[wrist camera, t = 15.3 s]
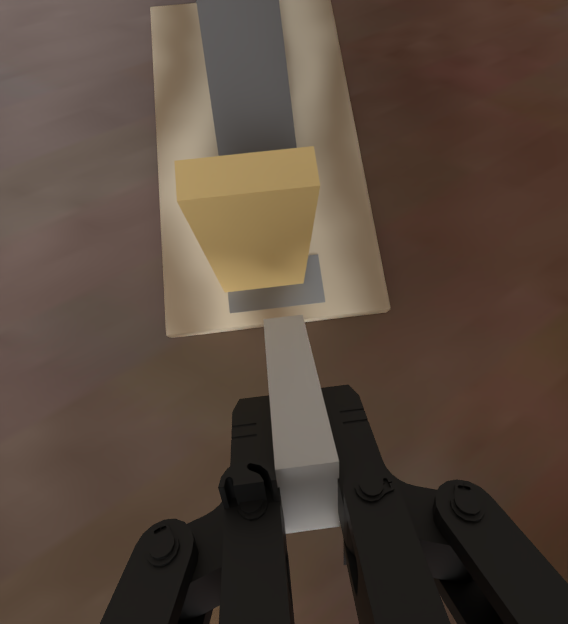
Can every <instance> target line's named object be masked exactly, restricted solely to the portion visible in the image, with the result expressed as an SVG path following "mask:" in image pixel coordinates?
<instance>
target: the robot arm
mask: <svg viewBox="0 0 568 624" xmlns="http://www.w3.org/2000/svg"><path fill="white" fill-rule="evenodd" d="M263 320H264V333H265V346H266V359H267V372H268V385H269V396H261V397H253V398H245V399H239V401H238V403H237V405H236V406H235V408H234V410H233V412H232V440H231V463H230V467H229V468H228V469H227V470H226V471H225V473H224V474H223V475H222V477H221V480H220V483H219V487H218V488H219V492H220V495H221V499H222V502H221V504H220V505H219V506H218V507H217V508H216V509H214V510H213V511H212V512H210V513H208V514H207V515H205V516H203V517H201V518H199V519H196V520H194V521H192V522H190V523H188V524H186V523H185V522H183V521H180V520H177V519H167V520H163V521H160V522H158V523H156V524H154V525H152V526H151V527H150V528H149V529H148V530H147V531H146V532H144V533H143V535H142V536H141V538H140V539H139V541H138V542H137V544H136V546H135V548H134V550H133V552H132V554H131V557H130V559H129V561H128V563H127V565H126V568H125V570H124V572H123V574H122V576H121V579H120V581H119V583H118V585H117V587H116V589H115V592H114V594H113V596H112V598H111V600H110V603H109V605H108V607H107V609H106V611H105V614H104V616H103V618H102V620H101V622H100V624H209V623H210V619H211V615H212V611H213V609H214V608H215V607H217V606H219V605H220V614H219V624H294V613H293V602H292V592H291V581H290V570H289V560H288V552H287V544H286V534H287V533H294V532H301V531H309V530H316V529H323V528H331V527H338V526H340V524H341V528H342V533H343V538H344V565H347V568H348V572H349V577H350V582H351V587H352V592H353V596H354V601H355V606H356V611H357V615H358V620H359V624H450V621H449V618H448V616H447V613H446V611H445V608H444V605H443V603H442V600H441V598H442V599H443V601H444V603H445V604H446V606H447V608H448V609H449V611H450V612H451V614H452V616H453V617H454V619H455V621H456V622H457V624H568V583H567V582H566V581H565V580H564V579H563V578H562V577H561V575H560V574H559V573H558V572H557V571H556V570H555V569H554V567H553V566H552V565H551V564H550V563H549V562H548V561H547V559H546V558H545V557H544V556H543V555H542V554H541V553H540V552H539V550H538V549H537V548H536V547H535V546H534V545H533V544H532V542H531V541H530V540H529V539H528V538H527V537H526V536H525V534H524V533H523V532H522V531H521V530H520V529H519V528H518V527H517V525H516V524H515V523H514V522H513V521H512V520H511V519H510V517H509V516H508V515H507V514H506V513H505V512H504V511H503V509H502V508H501V507H500V506H499V505H498V504H497V503H496V501H495V500H494V499H493V498H492V497H491V496H490V495H489V494H488V493H487V492H485V491H484V490H483V489H482V488H481V487H479V486H477V485H475V484H473V483H471V482H468V481H463V480H452V481H447V482H445V483H444V484H442V485H441V486H440V487H439V488H438V490H435V489H429V488H423V487H418V486H413V485H410V484H407V483H405V482H403V481H401V480H399V479H397V478H396V477H395V476H393V475H392V474H391V473H390V472H389V470H388V469H387V468H386V466H385V464H384V462H383V460H382V457H381V455H380V452H379V449H378V446H377V444H376V441H375V438H374V435H373V433H372V430H371V427H370V425H369V422H368V420H367V416H366V414H365V411H364V408H363V405H362V403H361V400H360V397H359V395H358V394H357V393H356V392H355V391H354V390H353V389H352V388H351V387H350V386H349V385H342V386H334V387H326V388H321V387H320V383H319V379H318V375H317V371H316V367H315V363H314V359H313V355H312V351H311V347H310V343H309V339H308V335H307V331H306V326H305V322H304V318H303V315H295V316H286V317H278V318H269V319H263ZM439 594H440V595H439ZM440 596H441V597H440Z"/></svg>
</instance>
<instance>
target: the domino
mask: <svg viewBox="0 0 568 624" xmlns="http://www.w3.org/2000/svg"><path fill="white" fill-rule="evenodd" d="M196 3H197V10H198V17H199V24H200V31H201V37H202V44H203V51H204V58H205V65H206V72H207V79H208V86H209V93H210V100H211V107H212V114H213V121H214V127H215V134H216V141H217V148H218V155H219V156H224V155H233V154H243V153H252V152H262V151H271V150H281V149H290V148H297V146H296V138H295V129H294V121H293V113H292V104H291V96H290V88H289V80H288V71H287V63H286V55H285V46H284V38H283V30H282V21H281V13H280V5H279V0H196Z"/></svg>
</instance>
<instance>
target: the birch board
mask: <svg viewBox="0 0 568 624" xmlns="http://www.w3.org/2000/svg"><path fill="white" fill-rule="evenodd" d="M279 5H280V13H281V21H282V30H283V38H284V46H285V55H286V63H287V71H288V80H289V88H290V96H291V104H292V113H293V121H294V129H295V138H296V146H297V148H300V147H310V146H314V150H315V156H316V162H317V168H318V174H319V181H320V190H319V196H318V202H317V208H316V213H315V219H314V225H313V231H312V237H311V243H310V248H309V254H308V260H307V266H306V272H305V278H304V283H303V284H294V285H286V286H277V287H268V288H260V289H251V290H243V291H234V292H226V293H225V292H224V290H223V288H222V287H221V285H220V283H219V281H218V279H217V277H216V275H215V273H214V271H213V269H212V267H211V266H210V264H209V262H208V260H207V258H206V256H205V254H204V252H203V250H202V248H201V246H200V244H199V243H198V241H197V239H196V237H195V235H194V233H193V231H192V229H191V227H190V225H189V223H188V222H187V220H186V218H185V216H184V214H183V212H182V210H181V208H180V206H179V204H178V202H177V197H176V180H175V164H174V161H176V160H186V159H195V158H205V157H214V156H219V155H218V148H217V141H216V134H215V127H214V121H213V114H212V107H211V100H210V93H209V86H208V79H207V72H206V65H205V58H204V51H203V44H202V37H201V31H200V24H199V17H198V10H197V3H190V4H179V5H168V6H157V7H150V10H151V30H152V51H153V72H154V92H155V113H156V134H157V155H158V175H159V196H160V217H161V238H162V258H163V279H164V300H165V321H166V335H167V336H169V337H170V338H174V337H183V336H191V335H200V334H208V333H217V332H225V331H234V330H242V329H250V328H259V327H264V320H263V319H269V318H278V317H286V316H295V315H303V318H304V322H310V321H318V320H326V319H335V318H343V317H352V316H360V315H369V314H377V313H386V312H387V311H388V310H390V309H391V308H390V303H389V298H388V293H387V288H386V283H385V277H384V272H383V267H382V262H381V257H380V252H379V247H378V241H377V236H376V231H375V226H374V221H373V216H372V211H371V205H370V200H369V195H368V190H367V185H366V180H365V175H364V169H363V164H362V159H361V154H360V149H359V144H358V139H357V133H356V128H355V123H354V118H353V113H352V108H351V103H350V97H349V92H348V87H347V82H346V77H345V72H344V66H343V61H342V56H341V51H340V46H339V41H338V36H337V30H336V25H335V20H334V15H333V10H332V5H331V0H279Z"/></svg>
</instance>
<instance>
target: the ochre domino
mask: <svg viewBox="0 0 568 624" xmlns="http://www.w3.org/2000/svg"><path fill="white" fill-rule="evenodd" d="M174 164H175V180H176V197H177V202H178V204H179V206H180V208H181V210H182V212H183V214H184V216H185V218H186V220H187V222H188V223H189V225H190V227H191V229H192V231H193V233H194V235H195V237H196V239H197V241H198V243H199V244H200V246H201V248H202V250H203V252H204V254H205V256H206V258H207V260H208V262H209V264H210V266H211V267H212V269H213V271H214V273H215V275H216V277H217V279H218V281H219V283H220V285H221V287H222V288H223V290H224V292H225V293H226V292H234V291H243V290H251V289H260V288H268V287H277V286H286V285H294V284H303V283H304V278H305V272H306V266H307V260H308V254H309V248H310V243H311V237H312V231H313V225H314V219H315V213H316V208H317V202H318V196H319V190H320V181H319V174H318V168H317V162H316V156H315V150H314V146H310V147H300V148H290V149H281V150H271V151H262V152H252V153H243V154H233V155H224V156H214V157H205V158H195V159H186V160H176V161H174Z"/></svg>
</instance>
